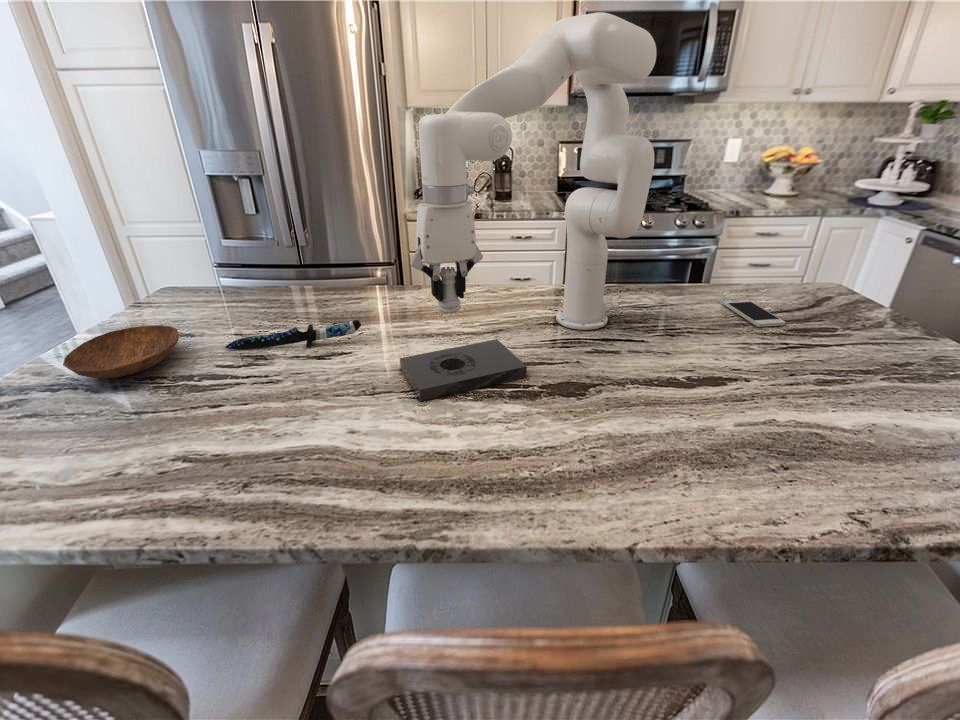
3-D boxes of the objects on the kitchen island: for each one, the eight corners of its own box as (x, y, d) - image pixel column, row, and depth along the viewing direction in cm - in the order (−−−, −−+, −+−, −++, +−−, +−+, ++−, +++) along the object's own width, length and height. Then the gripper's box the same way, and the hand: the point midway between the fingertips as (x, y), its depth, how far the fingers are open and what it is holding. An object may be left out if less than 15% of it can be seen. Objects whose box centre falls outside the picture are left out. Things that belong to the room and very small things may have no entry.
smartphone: (757, 327, 119) (758, 323, 118) (722, 304, 132) (723, 300, 132) (785, 325, 119) (786, 321, 119) (747, 302, 133) (748, 299, 133)
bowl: (198, 341, 117) (192, 321, 115) (161, 387, 98) (153, 365, 95) (106, 348, 114) (98, 328, 112) (50, 397, 95) (39, 374, 92)
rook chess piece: (458, 314, 92) (456, 272, 88) (434, 313, 92) (432, 271, 89) (463, 306, 95) (462, 265, 92) (441, 304, 96) (439, 264, 93)
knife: (364, 335, 115) (359, 317, 113) (362, 340, 112) (357, 322, 110) (234, 352, 115) (227, 335, 113) (229, 358, 113) (221, 340, 111)
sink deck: (497, 349, 110) (497, 339, 109) (526, 377, 99) (526, 366, 98) (400, 368, 103) (399, 358, 102) (420, 401, 91) (419, 390, 90)
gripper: (481, 189, 90) (481, 286, 99) (391, 195, 85) (400, 297, 93) (498, 195, 84) (497, 297, 93) (403, 202, 78) (411, 311, 87)
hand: (448, 296), depth 93 cm, fingers closed on rook chess piece, 3 cm apart
